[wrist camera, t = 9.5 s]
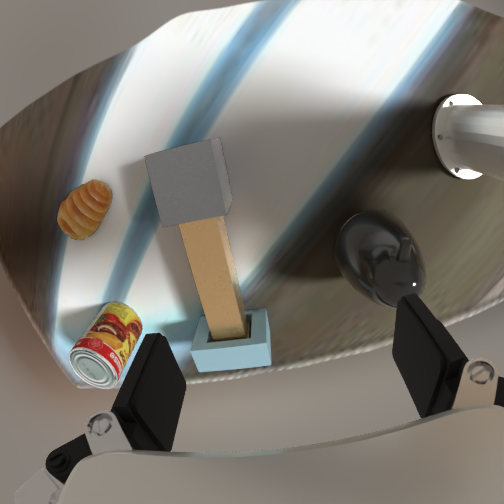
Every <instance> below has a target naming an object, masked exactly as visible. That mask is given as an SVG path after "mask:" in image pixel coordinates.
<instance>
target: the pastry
mask: <svg viewBox="0 0 504 504" xmlns="http://www.w3.org/2000/svg"><path fill="white" fill-rule="evenodd" d="M111 199H112V191H111V189H110V188H109V187H108V185H107V184H105V183H103V182H101V181H97V180H91V181H89V182H88V183H86V184H82V185H81V186H80V187H79V188H77V189H76V190H73V191H71V192H70V194H69V195H68V197H67V199H66V200H64V201H62V202H61V204H60V208H59V212H58V218H57V222H58V224H59V226H60V228H61V229H62V231H63V232H64V233H65V234H67V235H68V236H69V237H71V238H72V239H75V240H84V239H85V238H86V237H89V236H91V235H93V234H94V232H95V230H96V229H97V228H98V226H99V225H100V224H101V222H102V220H103V218H104V216H105V214H106V212H107V210H108V208H109V206H110V204H111Z"/></svg>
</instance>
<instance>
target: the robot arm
mask: <svg viewBox="0 0 504 504" xmlns="http://www.w3.org/2000/svg"><path fill="white" fill-rule="evenodd" d="M432 138H433V144H434V148H435V151H436V154H437V156H438V158H439V160H440V162H441V163H442V165H443V166H444V167H445V169H447V170H448V171H449V172H450V173H451V174H453V175H454V176H456V177H459V178H462V179H467V180H468V179H475V178H477V177H479V176H481V175H482V174H484V175H487V176H490V177H493V178H496V179H498V180H501V181H504V105H492V104H481V103H480V102H479V101H478V100H476V99H475V98H473V97H471V96H469V95H466V94H455V95H451V96H449V97H447V98H445V99H444V100H443V101H442V102H441V103H440V105H439V106H438V107H437V110H436V112H435V114H434V118H433V124H432ZM392 354H393V358H394V361H395V363H396V365H397V367H398V369H399V371H400V373H401V375H402V377H403V379H404V381H405V384H406V386H407V388H408V390H409V392H410V395H411V397H412V399H413V401H414V404H415V406H416V408H417V410H418V413H419V415H420V417H421V418H422V419H419V420H416V421H412V422H409V423H406V424H402V425H399V426H395V427H392V428H388V429H384V430H380V431H376V432H373V433H369V434H364V435H360V436H356V437H351V438H346V439H341V440H337V441H330V442H325V443H319V444H312V445H306V446H299V447H292V448H283V449H272V450H261V451H245V452H220V453H195V452H170V451H171V449H172V446H173V441H174V436H175V433H176V428H177V424H178V420H179V416H180V411H181V408H182V403H183V399H184V395H185V391H186V381H185V379H184V377H183V375H182V372H181V370H180V368H179V366H178V364H177V362H176V359H175V357H174V355H173V353H172V350H171V348H170V346H169V343H168V341H167V339H166V337H165V336H162V335H161V334H160V333H152V334H146V335H145V337H144V339H143V341H142V343H141V345H140V347H139V349H138V352H137V354H136V356H135V358H134V360H133V362H132V364H131V366H130V368H129V371H128V373H127V375H126V377H125V379H124V381H123V384H122V386H121V388H120V390H119V393H118V395H117V397H116V399H115V402H114V404H113V407H112V409H111V411H106V410H102V411H98V412H95V413H94V414H92V415H91V416H90V417H89V418H88V419H87V420H86V422H85V425H84V432H85V433H84V434H83V435H81V436H79V437H77V438H75V439H74V440H72V441H70V442H68V443H66V444H64V445H62V446H61V447H59V448H57V449H55V450H53V451H52V452H51V453H50V454H49V455H48V457H47V459H46V468H45V469H43V468H41V469H40V470H38V471H37V472H36V473H35V474H34V475H33V476H32V477H31V478H29V479H28V480H27V481H26V482H25V483H24V484H23V485H22V486H21V487H20V488H19V489H17V491H16V492H15V494H14V504H504V378H503V377H499V376H498V369H497V367H496V366H495V365H494V364H493V362H491V361H489V360H487V359H484V358H476V359H473V360H470V361H469V360H468V358H467V357H466V356H465V354H464V353H463V351H462V350H461V349H460V347H459V346H458V344H457V343H456V342H455V340H454V339H453V338H452V336H451V335H450V334H449V332H448V331H447V330H446V328H445V327H444V326H443V324H442V323H441V322H440V321H439V320H437V319H436V318H435V317H434V315H433V314H432V313H431V312H430V310H429V309H428V308H427V306H426V305H425V304H424V303H423V301H422V300H421V299H420V298H419V296H418V295H417V294H416V293H412V294H408V295H404V296H402V297H401V300H398V302H397V311H396V322H395V332H394V341H393V349H392Z"/></svg>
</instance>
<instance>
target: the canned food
mask: <svg viewBox="0 0 504 504" xmlns="http://www.w3.org/2000/svg"><path fill="white" fill-rule="evenodd" d="M142 329H143V328H142V322H141V319H140V317H139V316H138V314H137V313H136V312H135V311H134V310H133V309H132V308H130V307H129V306H127V305H125V304H123V303H119V302H110V303H107V304H105V305H104V306H103V307H102V309H101V310H100V311H99V313H98V314H97V315H96V317H95V318H94V319H93V321H92V322H91V323H90V325H89V326H88V327H87V329H86V330H85V332H84V333H83V334H82V336H81V337H80V339H79V340H78V341H77V343H76V344H75V346H74V347H73V348H72V350H71V351H70V354H69V362H70V365H71V367H72V369H73V370H74V372H75V373H76V374H77V375H78V376H79V377H80V378H81V379H82V380H84V381H85V382H87V383H88V384H90V385H92V386H94V387H97V388H101V389H110V388H113V387H114V386H115V385H116V384H117V382H118V380H119V378H120V376H121V374H122V371H123V369H124V367H125V365H126V363H127V361H128V359H129V357H130V355H131V353H132V351H133V349H134V347H135V345H136V343H137V341H138V339H139V337H140V335H141V333H142Z"/></svg>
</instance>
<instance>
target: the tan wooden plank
mask: <svg viewBox="0 0 504 504" xmlns="http://www.w3.org/2000/svg"><path fill="white" fill-rule="evenodd" d="M179 228H180V232H181V235H182V239H183V243H184V246H185V250H186V253H187V257H188V260H189V264H190V267H191V271H192V274H193V277H194V281H195V284H196V287H197V291H198V294H199V297H200V300H201V303H202V307H203V310H204V313H205V316H206V319H207V322H208V325H209V328H210V331H211V334H212V337H213V342H221V341H230V340H238V339H247V338H251V323H250V320H247V316H246V312H245V308H244V304H243V300H242V295H241V291H240V287H239V283H238V278H237V274H236V270H235V266H234V261H233V257H232V253H231V248H230V244H229V239H228V235H227V231H226V226H225V222H224V217H223V216H219V217H214V218H208V219H203V220H198V221H193V222H188V223H183V224H179Z"/></svg>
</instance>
